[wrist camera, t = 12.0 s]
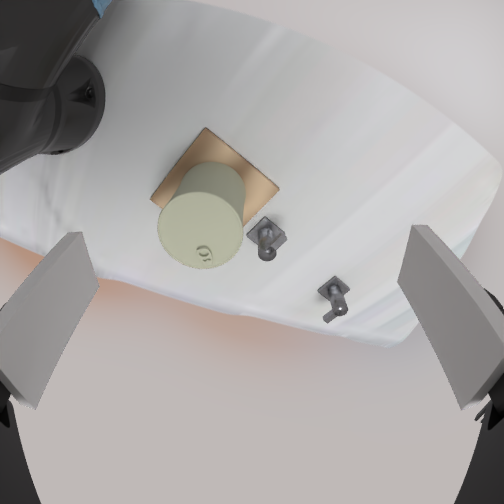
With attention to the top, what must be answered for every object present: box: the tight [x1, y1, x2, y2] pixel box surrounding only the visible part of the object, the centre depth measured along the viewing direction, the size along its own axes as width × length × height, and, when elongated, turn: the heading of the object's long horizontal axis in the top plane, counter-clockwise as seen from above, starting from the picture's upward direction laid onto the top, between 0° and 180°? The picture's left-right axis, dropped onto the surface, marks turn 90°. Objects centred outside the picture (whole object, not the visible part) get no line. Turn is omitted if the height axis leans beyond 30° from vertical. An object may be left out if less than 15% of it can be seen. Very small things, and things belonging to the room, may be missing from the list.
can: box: [158, 162, 246, 269], centre depth 36 cm, size 9×9×12 cm
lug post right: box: [318, 276, 350, 323], centre depth 48 cm, size 4×5×6 cm
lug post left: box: [247, 217, 287, 261], centre depth 42 cm, size 4×5×6 cm
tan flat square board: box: [150, 128, 279, 226], centre depth 41 cm, size 13×13×1 cm
